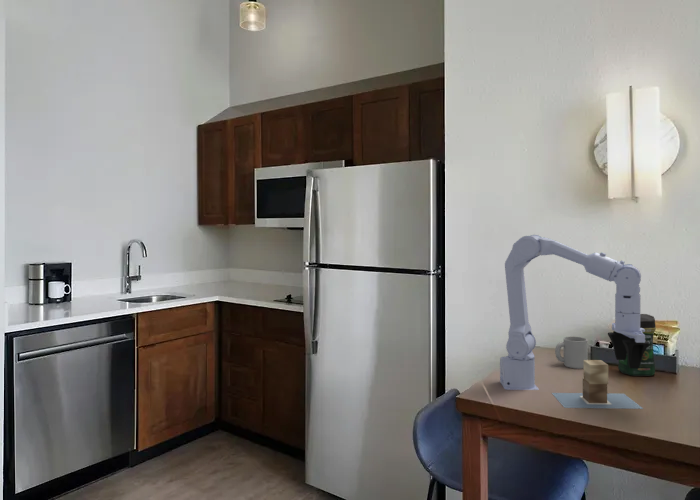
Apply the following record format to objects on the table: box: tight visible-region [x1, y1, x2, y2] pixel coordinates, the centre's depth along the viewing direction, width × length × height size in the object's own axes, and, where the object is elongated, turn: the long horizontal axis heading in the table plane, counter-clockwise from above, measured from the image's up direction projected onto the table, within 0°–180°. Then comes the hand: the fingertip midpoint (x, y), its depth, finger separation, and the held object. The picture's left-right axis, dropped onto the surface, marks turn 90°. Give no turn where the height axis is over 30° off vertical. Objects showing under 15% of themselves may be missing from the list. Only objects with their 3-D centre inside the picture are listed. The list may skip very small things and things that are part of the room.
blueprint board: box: [551, 392, 644, 410], centre depth 131 cm, size 19×11×1 cm, turn 84°
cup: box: [554, 336, 589, 370], centre depth 164 cm, size 7×10×9 cm
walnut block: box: [582, 378, 608, 403], centre depth 131 cm, size 4×4×5 cm
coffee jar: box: [617, 313, 657, 377], centre depth 154 cm, size 10×8×19 cm
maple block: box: [583, 359, 609, 385], centre depth 131 cm, size 4×4×5 cm
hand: (627, 363), depth 130 cm, fingers open, 7 cm apart
